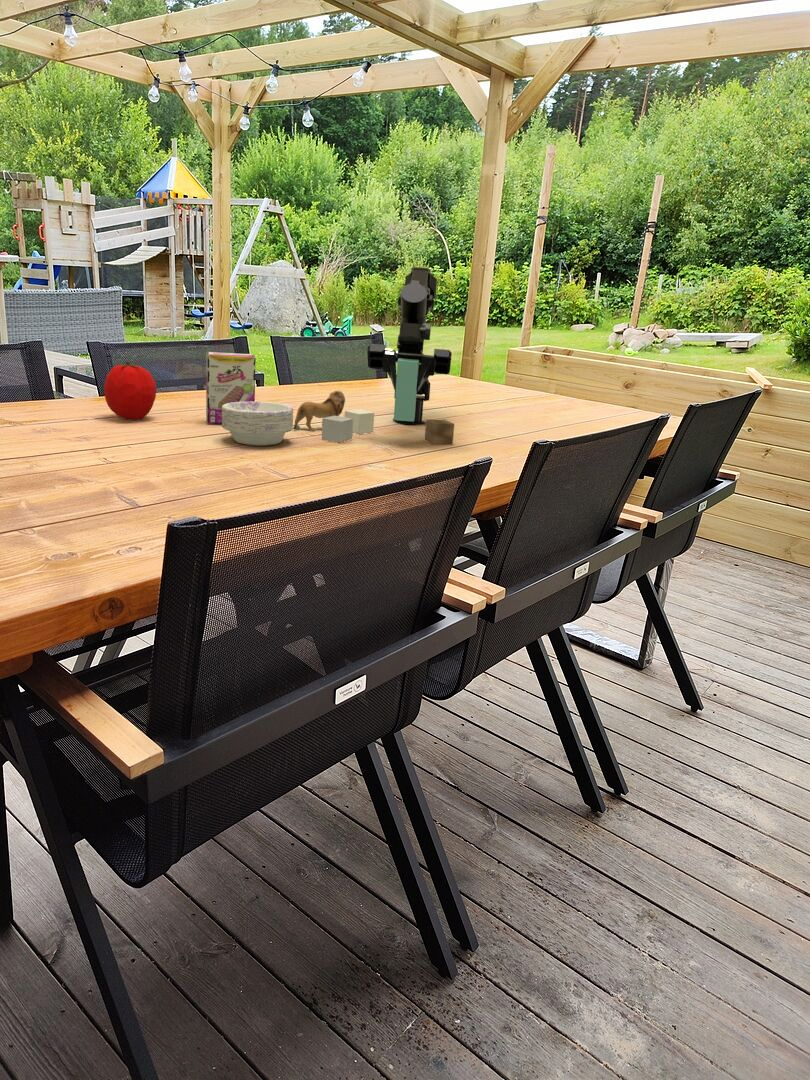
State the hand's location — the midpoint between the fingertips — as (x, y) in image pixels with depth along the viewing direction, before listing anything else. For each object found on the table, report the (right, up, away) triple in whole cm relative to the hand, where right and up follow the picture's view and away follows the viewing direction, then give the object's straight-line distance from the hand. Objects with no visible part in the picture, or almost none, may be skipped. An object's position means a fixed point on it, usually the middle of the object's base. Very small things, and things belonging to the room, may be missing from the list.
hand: (406, 389), depth 169 cm
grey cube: (-16, -10, +7) cm, 20 cm away
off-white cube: (-12, -7, +17) cm, 22 cm away
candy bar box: (-42, -5, +16) cm, 45 cm away
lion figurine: (-21, -6, +17) cm, 28 cm away
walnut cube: (+8, -10, +12) cm, 18 cm away
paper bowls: (-33, -12, -1) cm, 35 cm away
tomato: (-65, -5, +12) cm, 66 cm away
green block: (0, -6, +4) cm, 7 cm away
